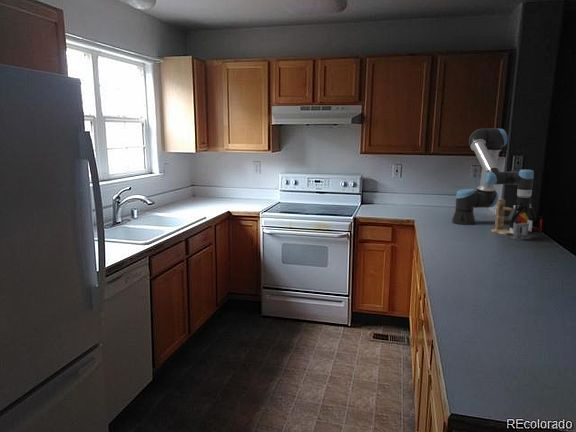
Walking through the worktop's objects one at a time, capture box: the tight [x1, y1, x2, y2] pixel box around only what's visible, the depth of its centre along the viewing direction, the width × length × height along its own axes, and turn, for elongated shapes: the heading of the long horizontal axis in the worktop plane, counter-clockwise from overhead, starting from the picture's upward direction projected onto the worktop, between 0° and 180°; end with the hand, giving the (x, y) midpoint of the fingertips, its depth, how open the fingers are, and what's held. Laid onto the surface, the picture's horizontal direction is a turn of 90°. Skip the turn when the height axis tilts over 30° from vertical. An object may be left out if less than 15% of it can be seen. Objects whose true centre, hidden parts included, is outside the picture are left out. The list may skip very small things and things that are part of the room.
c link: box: [512, 223, 529, 238], centre depth 254 cm, size 8×3×8 cm, turn 111°
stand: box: [490, 199, 513, 236], centre depth 267 cm, size 13×10×20 cm
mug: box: [515, 212, 544, 233], centre depth 274 cm, size 10×14×12 cm
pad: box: [510, 236, 531, 241], centre depth 254 cm, size 6×9×1 cm, turn 111°
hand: (520, 232), depth 254 cm, fingers open, 13 cm apart
